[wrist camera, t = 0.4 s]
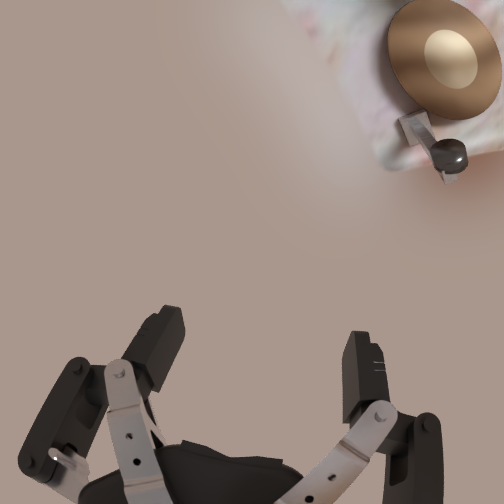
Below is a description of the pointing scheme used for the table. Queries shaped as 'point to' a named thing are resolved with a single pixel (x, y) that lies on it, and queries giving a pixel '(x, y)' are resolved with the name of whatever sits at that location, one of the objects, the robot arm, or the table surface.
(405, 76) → the disc
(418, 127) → the stand
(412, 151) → the table surface
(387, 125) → the table surface
